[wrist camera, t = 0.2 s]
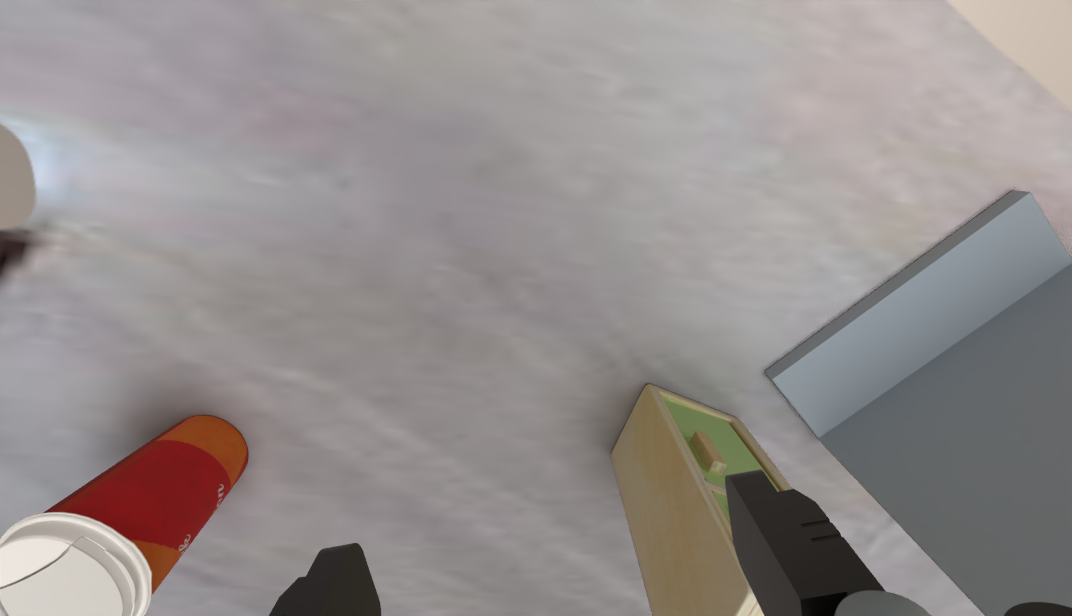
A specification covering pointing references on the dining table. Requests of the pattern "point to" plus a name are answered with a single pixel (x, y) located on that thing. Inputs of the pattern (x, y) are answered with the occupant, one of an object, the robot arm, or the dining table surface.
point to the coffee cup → (121, 526)
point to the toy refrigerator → (686, 502)
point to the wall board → (960, 403)
